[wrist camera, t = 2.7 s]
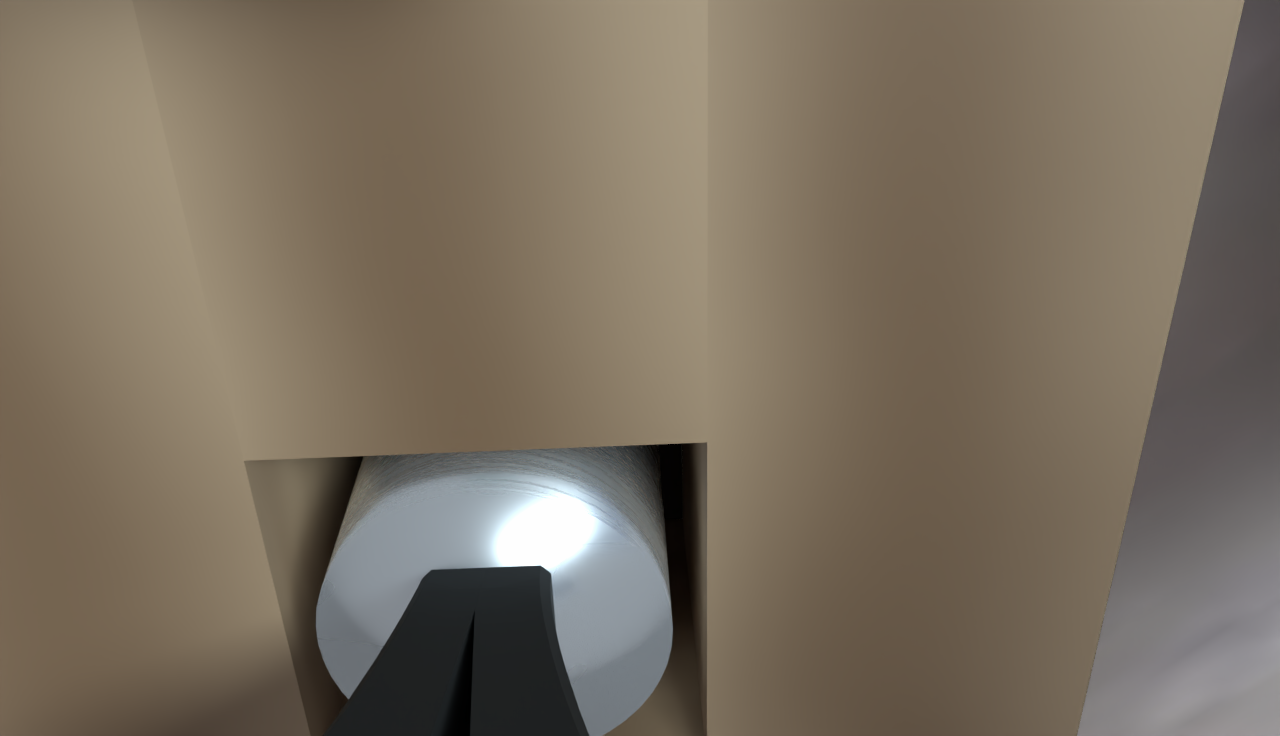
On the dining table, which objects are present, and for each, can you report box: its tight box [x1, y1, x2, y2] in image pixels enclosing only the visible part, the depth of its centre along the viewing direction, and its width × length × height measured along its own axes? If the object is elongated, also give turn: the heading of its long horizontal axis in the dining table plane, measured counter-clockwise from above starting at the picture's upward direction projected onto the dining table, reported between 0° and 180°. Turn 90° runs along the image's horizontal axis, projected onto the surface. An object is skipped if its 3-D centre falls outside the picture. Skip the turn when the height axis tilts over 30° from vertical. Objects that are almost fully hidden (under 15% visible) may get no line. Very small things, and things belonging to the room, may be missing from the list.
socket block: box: [0, 0, 1245, 736], centre depth 13 cm, size 14×22×5 cm, turn 2°
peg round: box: [316, 444, 673, 736], centre depth 15 cm, size 4×4×5 cm
